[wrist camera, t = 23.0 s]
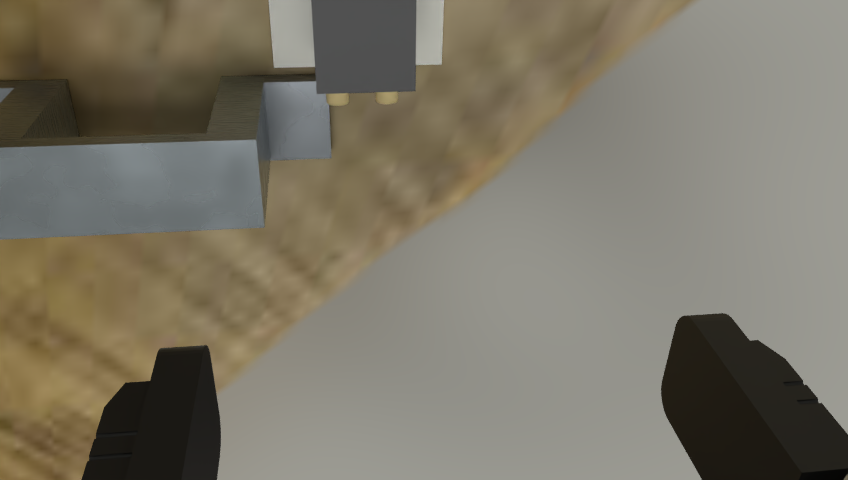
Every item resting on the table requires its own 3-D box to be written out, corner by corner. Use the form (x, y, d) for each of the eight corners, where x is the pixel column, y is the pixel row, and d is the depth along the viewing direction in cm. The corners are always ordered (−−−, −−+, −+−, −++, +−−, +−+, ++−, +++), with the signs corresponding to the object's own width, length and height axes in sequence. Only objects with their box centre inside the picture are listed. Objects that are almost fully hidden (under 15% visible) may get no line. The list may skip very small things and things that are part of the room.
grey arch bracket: (-25, 161, 37) (-94, 243, 30) (-49, 81, 35) (-129, 151, 28) (330, 149, 39) (336, 224, 32) (327, 74, 37) (332, 137, 30)
